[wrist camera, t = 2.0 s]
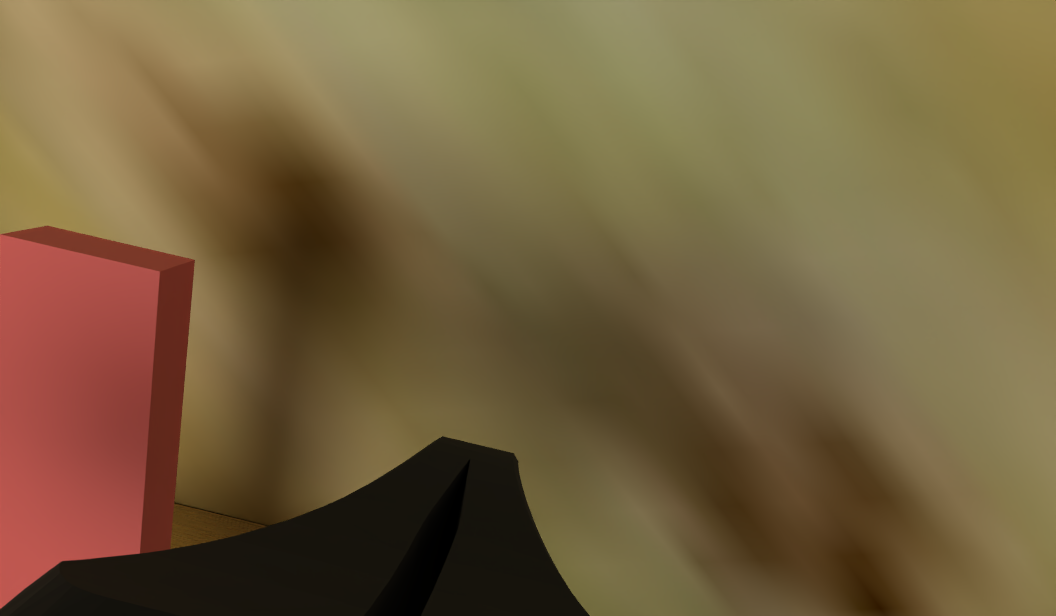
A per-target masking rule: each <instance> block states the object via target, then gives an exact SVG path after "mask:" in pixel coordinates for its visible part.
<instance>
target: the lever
mask: <svg viewBox="0 0 1056 616" xmlns="http://www.w3.org/2000/svg"><path fill="white" fill-rule="evenodd" d="M194 263H195V260H193V259H189V258H184V257H180V256H176V255H171V254H167V253H163V252H158V251H154V250H150V249H145V248H141V247H137V246H133V245H128V244H124V243H120V242H115V241H111V240H107V239H102V238H98V237H94V236H89V235H85V234H81V233H76V232H72V231H68V230H63V229H59V228H55V227H51V226H44V227H38V228H33V229H27V230H22V231H16V232H10V233H5V234H0V609H1V608H2V607H3V606H4V605H6V604H7V603H8V602H9V601H11V600H12V599H13V598H14V597H15V596H17V595H18V594H19V593H20V592H21V591H23V590H24V589H25V588H26V587H28V586H29V585H30V584H32V583H33V582H34V581H36V580H37V579H38V578H40V577H41V576H42V575H44V574H45V573H46V572H48V571H49V570H50V569H52V568H53V567H54V566H56V565H57V564H59V563H60V562H61V561H69V560H83V559H92V558H102V557H111V556H121V555H130V554H140V553H148V552H155V551H162V550H168V549H170V546H171V535H172V523H173V511H174V499H175V487H176V476H177V464H178V452H179V440H180V428H181V416H182V405H183V393H184V381H185V369H186V357H187V345H188V334H189V322H190V310H191V298H192V286H193V275H194Z"/></svg>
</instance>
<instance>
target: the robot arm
mask: <svg viewBox="0 0 1056 616" xmlns="http://www.w3.org/2000/svg"><path fill="white" fill-rule="evenodd" d="M0 616H590V615H589V614H588V613H587V612H586V611H585V609H584V608H583V607H582V606H581V604H580V603H579V602H578V600H577V599H576V598H575V596H574V595H573V594H572V592H571V591H570V589H569V588H568V586H567V585H566V583H565V581H564V580H563V578H562V577H561V575H560V573H559V572H558V570H557V568H556V566H555V565H554V563H553V561H552V559H551V557H550V555H549V553H548V551H547V549H546V547H545V545H544V543H543V541H542V539H541V537H540V534H539V532H538V530H537V527H536V525H535V522H534V520H533V517H532V514H531V512H530V509H529V506H528V504H527V501H526V498H525V494H524V491H523V487H522V484H521V479H520V475H519V468H518V460H517V458H516V457H515V455H514V453H510V452H506V451H501V450H497V449H493V448H489V447H485V446H481V445H476V444H472V443H468V442H464V441H460V440H455V439H451V438H447V437H443V436H442V437H441V438H439V439H437V440H436V441H434V442H432V443H431V444H430V445H428V446H427V447H425V448H424V449H422V450H421V451H420V452H418V453H417V454H415V455H414V456H412V457H411V458H409V459H408V460H406V461H405V462H404V463H402V464H400V465H399V466H397V467H396V468H394V469H393V470H391V471H389V472H388V473H386V474H385V475H383V476H381V477H380V478H378V479H376V480H375V481H373V482H371V483H370V484H368V485H366V486H364V487H362V488H360V489H358V490H357V491H355V492H353V493H351V494H349V495H347V496H345V497H343V498H341V499H339V500H337V501H335V502H333V503H330V504H328V505H326V506H323V507H321V508H319V509H316V510H313V511H311V512H308V513H306V514H303V515H301V516H298V517H295V518H293V519H290V520H287V521H284V522H280V523H277V524H274V525H270V526H267V527H263V528H260V529H257V530H253V531H250V532H246V533H243V534H240V535H236V536H232V537H228V538H224V539H219V540H215V541H210V542H206V543H201V544H196V545H190V546H185V547H179V548H174V549H168V550H162V551H155V552H148V553H140V554H130V555H121V556H111V557H102V558H92V559H83V560H69V561H61V562H60V563H59V564H57V565H56V566H54V567H53V568H52V569H50V570H49V571H48V572H46V573H45V574H44V575H42V576H41V577H40V578H38V579H37V580H36V581H34V582H33V583H32V584H30V585H29V586H28V587H26V588H25V589H24V590H23V591H21V592H20V593H19V594H18V595H17V596H15V597H14V598H13V599H12V600H11V601H9V602H8V603H7V604H6V605H4V606H3V607H2V608H1V609H0Z"/></svg>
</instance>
